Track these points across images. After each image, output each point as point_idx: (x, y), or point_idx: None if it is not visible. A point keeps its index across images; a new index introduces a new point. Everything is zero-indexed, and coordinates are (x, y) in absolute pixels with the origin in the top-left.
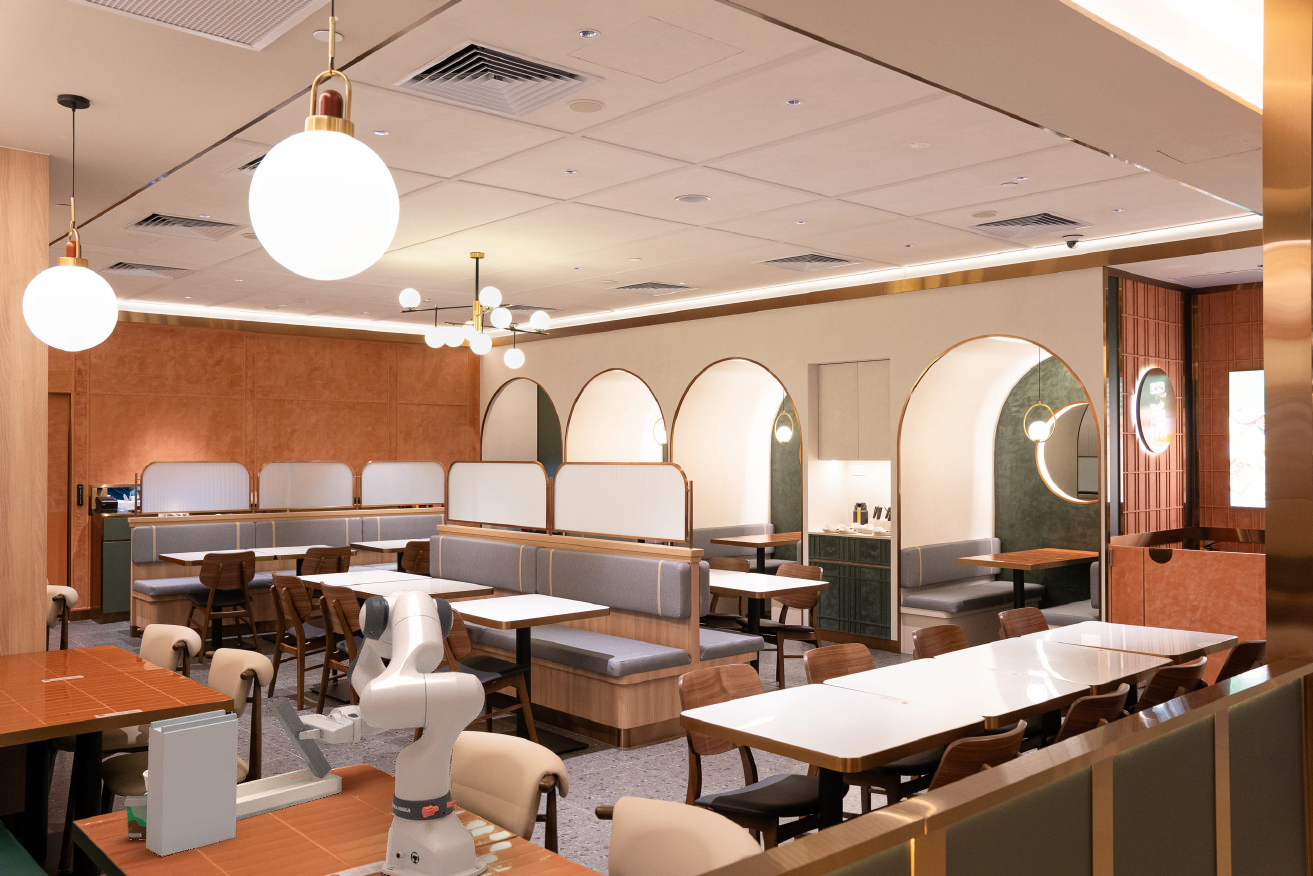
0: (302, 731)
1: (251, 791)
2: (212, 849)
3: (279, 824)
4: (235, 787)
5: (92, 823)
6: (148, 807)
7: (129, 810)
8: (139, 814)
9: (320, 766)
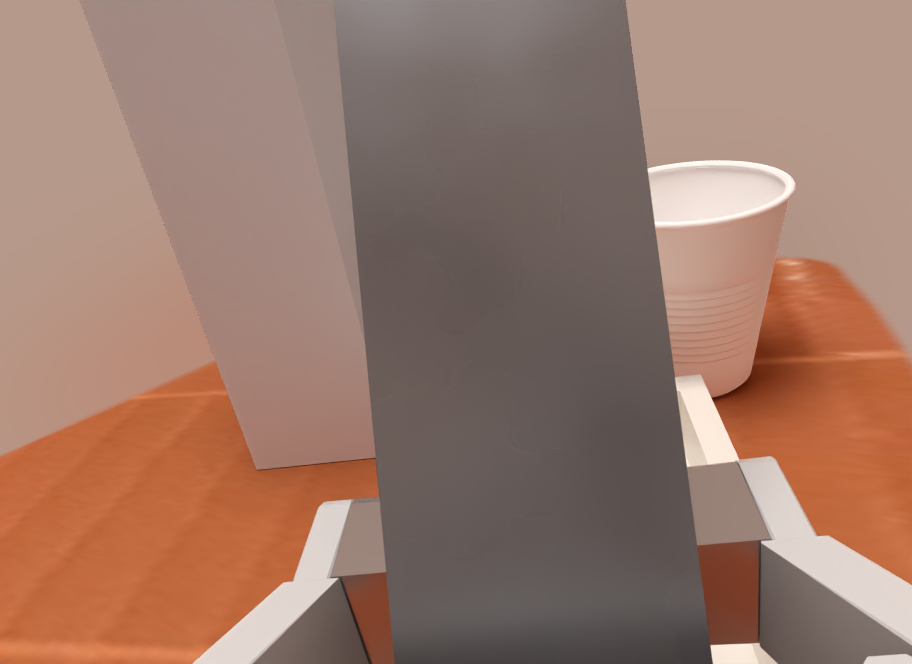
0: (363, 530)
1: (761, 652)
2: None
3: (189, 626)
4: (192, 290)
5: (781, 267)
6: None
7: None
8: None
9: None
